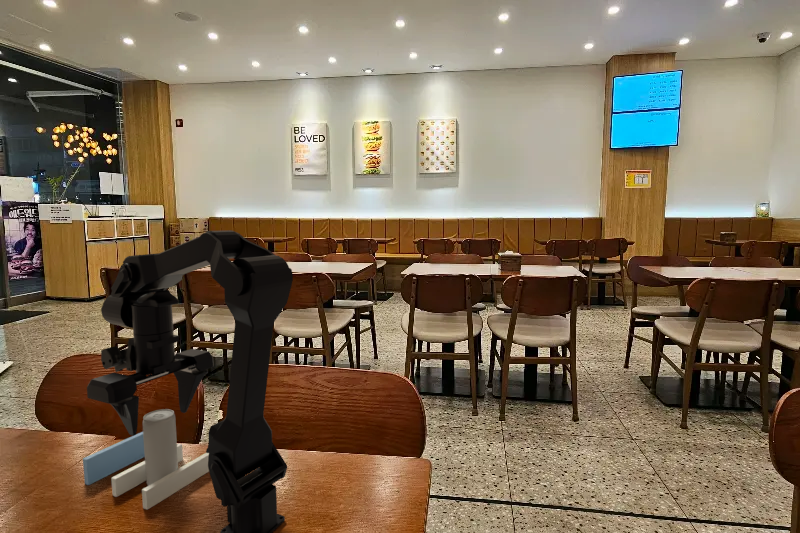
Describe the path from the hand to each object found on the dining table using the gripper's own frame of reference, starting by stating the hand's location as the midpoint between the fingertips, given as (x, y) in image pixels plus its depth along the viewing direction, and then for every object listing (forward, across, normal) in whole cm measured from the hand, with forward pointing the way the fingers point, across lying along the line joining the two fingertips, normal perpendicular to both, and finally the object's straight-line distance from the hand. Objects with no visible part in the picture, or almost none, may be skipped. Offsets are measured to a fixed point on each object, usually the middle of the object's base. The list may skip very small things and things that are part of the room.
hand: (159, 422), depth 74 cm
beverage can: (+11, 0, 0) cm, 11 cm away
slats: (+11, 0, -4) cm, 11 cm away
